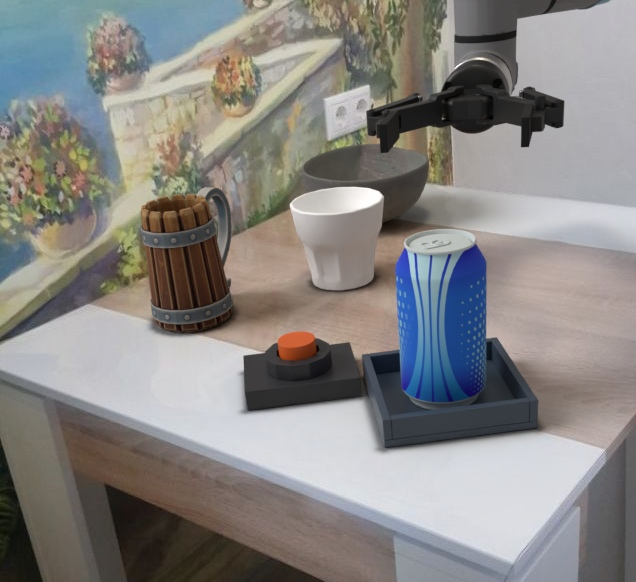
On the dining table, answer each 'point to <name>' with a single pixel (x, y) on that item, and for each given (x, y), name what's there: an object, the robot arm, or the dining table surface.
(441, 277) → the beer can
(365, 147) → the bowl
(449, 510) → the dining table surface
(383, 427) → the shallow square tray
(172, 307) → the mug
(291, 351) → the button
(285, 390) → the dark grey button base
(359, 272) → the cup
